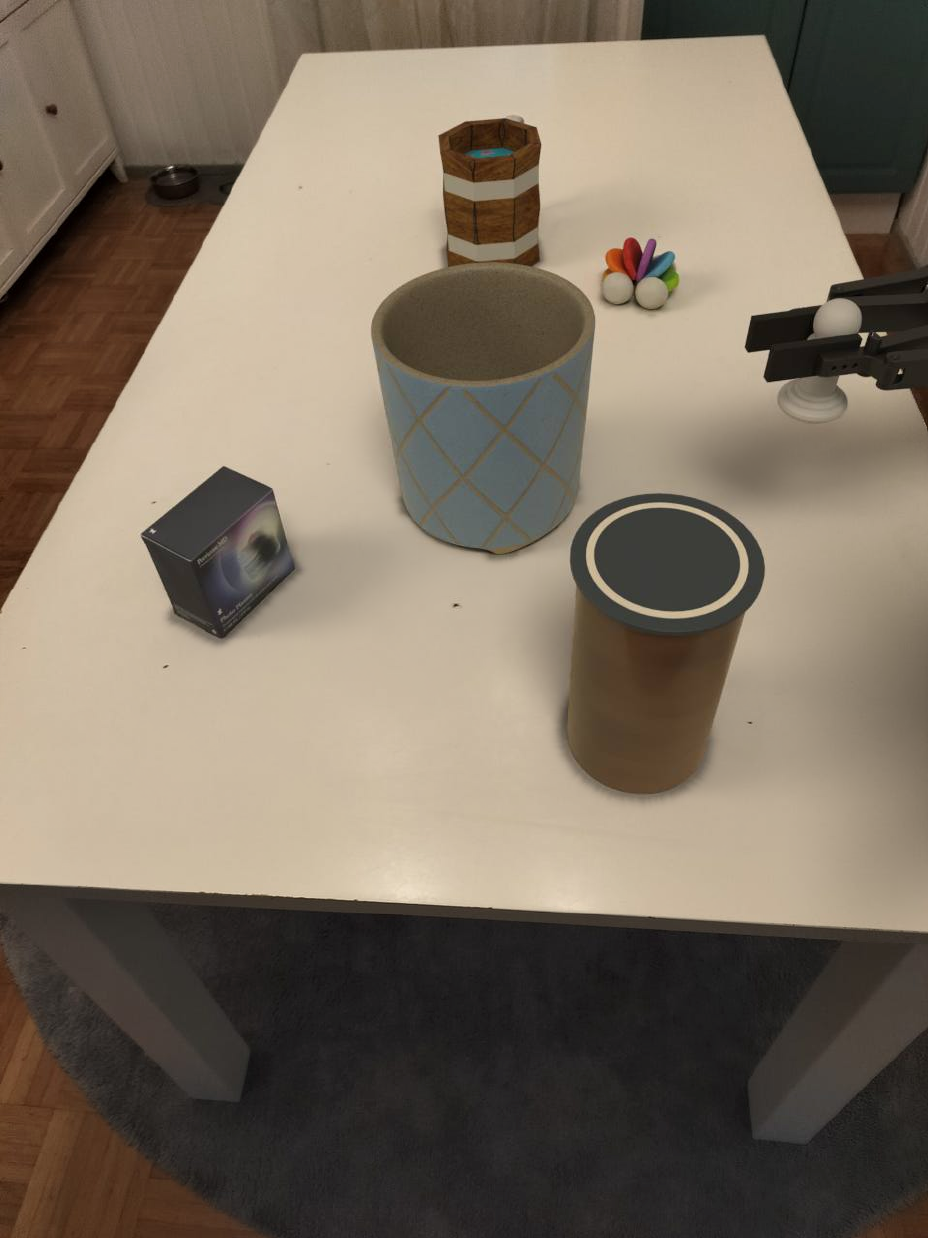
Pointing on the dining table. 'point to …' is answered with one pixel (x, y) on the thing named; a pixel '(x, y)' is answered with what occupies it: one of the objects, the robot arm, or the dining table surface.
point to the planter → (486, 399)
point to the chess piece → (818, 394)
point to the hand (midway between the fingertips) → (759, 348)
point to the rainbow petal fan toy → (639, 274)
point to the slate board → (667, 564)
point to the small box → (220, 550)
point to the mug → (491, 191)
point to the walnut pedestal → (643, 699)
